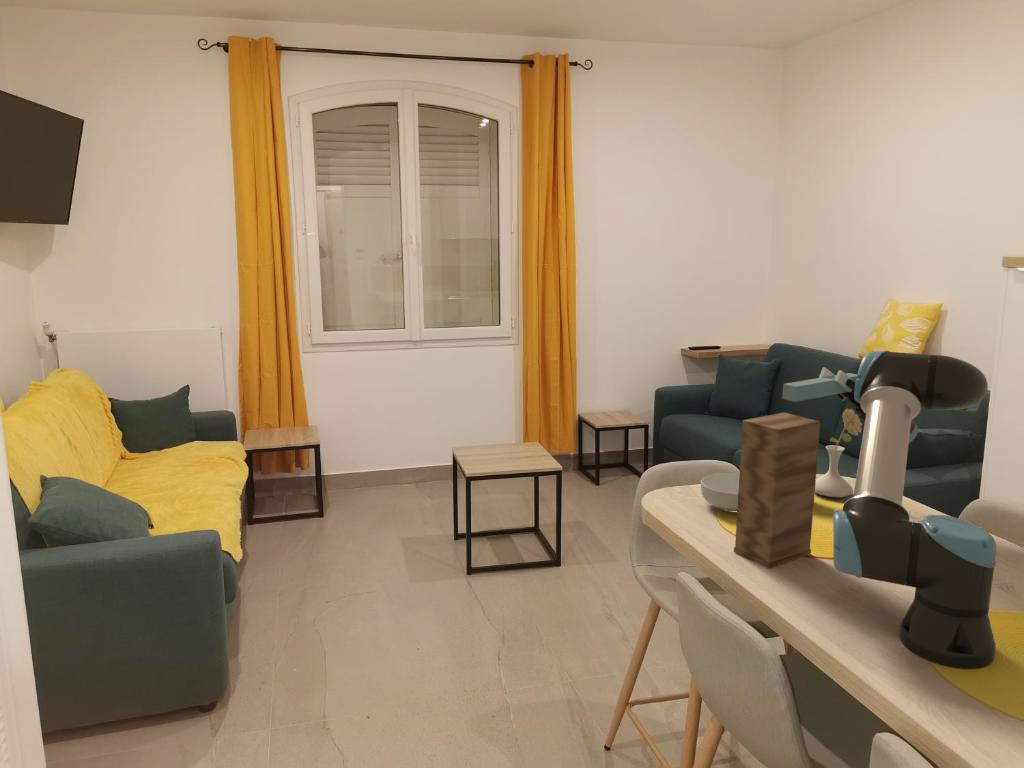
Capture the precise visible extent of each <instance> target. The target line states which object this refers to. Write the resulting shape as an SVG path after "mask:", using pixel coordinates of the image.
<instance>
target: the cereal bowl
mask: <svg viewBox="0 0 1024 768" xmlns="http://www.w3.org/2000/svg"><path fill="white" fill-rule="evenodd" d="M739 476H740V473H738V474H737V473H736V474H735V473H726V472H725V473H724V472H723V473H721V472H720V473H712V474H708V475H706V476H703V477H702V478H701V481H700V491H701V492H700V493H701V494H702V497H703V498H704V499H705V501H706V502H707V503H708V504H710V505H712V506H714V507H716V508H718V509H719V510H721V509H722V510H721V511H723V510H727V511H737V508H738V492H739ZM727 511H726V512H727Z"/></svg>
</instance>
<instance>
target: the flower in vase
mask: <svg viewBox="0 0 1024 768" xmlns="http://www.w3.org/2000/svg"><path fill="white" fill-rule="evenodd" d="M855 412H856V411H855V410H853V408H845V410H844V412H842V413H843V414H842V416H841V417H842V422H843V423H844V424H843V426H844V428H843V430H842V432H841V433H840V436H839V438H838V439H837V438H835V437H833V436H831V437H830V438H829V441H830V442H833V443H836V445H826V446H825V449H826V450H827V452H828V456H829V466H828V467H829V468H828V471H827V472H826V473H824V474H823V475H822V476H820V477H818V478H816V482H815V494H816V493H817V494H819V495H821V496H824V497H829V498H846V497H850V496H851V495H852V494H854V488H853V486H852V485H851V484H850V483H849V482H848V481H847V480H846V479H844V478H843V477H842V476H841V474H840V472H839V463H840V461H839V460H840V459H841V458H840V457H841V455H842V453H843V452H844V451H845V447H843V446H840V445H839V443H840V442H841V439H842V441H844V442H845V443H849V442H851V441H852V439H853V437H852V435H853V436H855V437H856V436H857V437H858V436H859V433H862V426H863V423H862V422H861V418H860V417H859V416H858V415H857V413H855ZM846 430H847V431H848V432H847V433H845V431H846ZM848 433H849V434H848ZM850 434H851V435H850Z"/></svg>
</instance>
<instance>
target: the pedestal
mask: <svg viewBox="0 0 1024 768" xmlns="http://www.w3.org/2000/svg"><path fill="white" fill-rule="evenodd" d="M741 430H742V431H741V443H740V444H741V447H740V460H739V461H740V463H739V475H740V476H739V492H738V508H737V512H736V529H735V541H734V542H735V543H734V547H733V553H734V552H736V553H737V555H739V556H741V555H742V556H741V557H743V556H744V558H745V557H746V558H745V559H747V558H748V560H750V561H752V562H755V563H756V562H757V563H756V564H758V563H759V565H760V564H761V565H760V566H763V567H765V568H768V569H772V568H775V567H779V566H781V565H783V564H786V563H789V562H792V561H795V560H798V559H801V558H804V557H807V556H809V555H808V554H810V553H811V554H812V549H811V543H812V541H811V540H812V531H813V530H812V527H813V518H814V517H813V516H814V502H815V494H816V492H815V482H816V479H817V468H818V457H819V445H820V443H819V442H820V431H821V420H816V419H811V418H807V417H804V416H800V415H797V414H791V413H789V412H780V413H774V414H769V415H763V416H758V417H754V418H748V419H743V420H742V427H741ZM736 553H735V554H736ZM811 554H810V555H811ZM806 555H807V556H806Z"/></svg>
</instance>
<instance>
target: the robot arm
mask: <svg viewBox="0 0 1024 768" xmlns="http://www.w3.org/2000/svg"><path fill="white" fill-rule="evenodd" d="M833 375H835V373H833V372H832V371H830V369H828V368H827V367H822V369H821V371H820V374H819V377H818V378H822V377H828V376H833ZM836 375H837V376H836V378H835V380H834V381H836V382H837V383H838V384H839V385H841V386H842V387H843V388H844V389H846V390H847V391H848V392H845V393H839V394H834V395H833V396H834V397H836V398H837V400H838V402H845V401H846V402H848V403H849V404H851V405H852V407H854V408H855V412H856V413H855V414H857V415H858V416H859V417H858V418H859V419H860V420H862V421H863V422H864V426H863V432H862V439H861V445H860V452H859V457H858V465H857V471H856V478H855V484H854V488H853V497H850V498H848V499H847V500H846V501H845V502H844V503H843V505H842V509H836V510H835V509H834V511H833V516H832V517H833V519H832V521H833V527H832V528H833V542H832V543H833V544H832V545H833V566H834V568H835V569H836V570H837V571H838V572H839V573H842V574H847V575H850V576H851V575H852V576H854V577H856V578H858V579H861V578H863V579H869V580H874V581H878V582H884V583H888V584H894V585H895V584H896V585H900V586H906V587H911V588H915V591H914V597H913V598H914V599H913V600H912V602H911V604H910V606H909V607H908V609H907V612H906V613H905V615H904V617H903V619H902V620H901V623H900V626H899V627H900V628H899V639H900V641H901V642H902V644H903V645H904V646H905V647H906V648H908V650H909V651H911V652H912V653H914V654H916V655H918V656H920V657H921V658H923V659H926V660H928V661H932V662H933V663H937V664H940V665H943V666H944V665H945V666H947V667H948V666H949V667H953V668H961V669H977V668H976V667H979V668H983V667H982V666H984V667H987V666H988V664H989V665H990V664H992V663H993V662H994V660H995V654H996V642H995V638H994V633H993V629H992V626H991V621H990V615H989V611H990V604H991V595H992V587H993V579H994V569H995V567H997V559H996V558H997V557H996V555H997V542H996V540H995V538H994V536H992V535H991V534H990V532H988V531H987V530H985V529H984V528H982V527H980V526H978V525H976V524H974V523H972V522H969V521H967V520H964V519H961V518H957V517H954V516H949V515H943V514H938V515H935V514H929V515H927V516H925V517H924V518H923V520H922V521H921V522H915V521H910V514H909V511H908V510H907V508H906V507H904V506H903V496H904V487H905V478H906V469H907V462H908V453H909V443H911V442H912V441H913V440H915V438H916V437H917V435H918V425H917V423H916V422H915V421H914V419H915V418H916V417H917V416H918V415H919V414H920V412H921V409H923V410H938V411H948V410H949V411H950V410H954V411H961V412H962V411H963V412H976V411H978V410H979V408H980V403H981V402H982V400H984V399H985V397H986V394H987V392H988V388H989V387H988V386H989V385H988V380H987V378H986V375H985V374H984V373H983V372H982V371H981V369H979V368H977V367H976V366H974V365H973V364H972V363H969V362H967V361H964V360H962V359H959V358H956V357H951V356H947V355H941V354H926V353H925V354H923V353H913V352H912V353H911V352H910V353H909V352H899V351H898V352H894V351H889V350H884V351H878V350H877V351H876V350H875V351H874V350H873V351H868V352H867V353H866V354H864V356H863V357H862V359H861V362H860V364H859V367H858V371H857V379H856V383H855V381H854V380H853V379H851V378H850V377H849V376H848V375H846V374H845V372H844V371H843V370H840V369H839V370H838V371H837V373H836ZM852 390H853V391H852ZM992 661H993V662H992ZM986 665H987V666H986Z"/></svg>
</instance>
